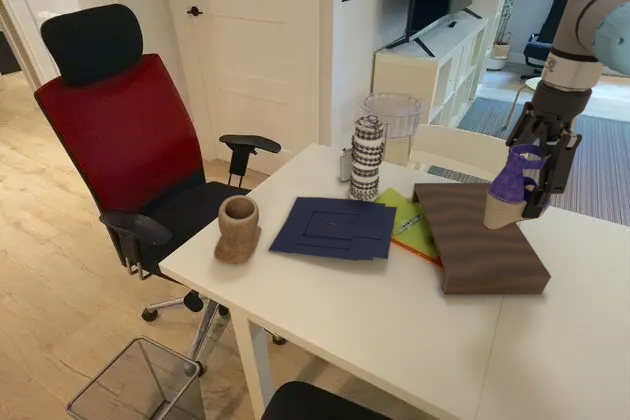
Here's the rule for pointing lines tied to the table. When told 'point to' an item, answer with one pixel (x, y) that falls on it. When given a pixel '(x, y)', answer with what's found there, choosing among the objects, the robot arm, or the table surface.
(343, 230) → the papers
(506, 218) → the sandal
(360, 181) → the decorative candle
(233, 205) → the stone cup
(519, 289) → the walnut wood board
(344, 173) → the ink box
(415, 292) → the table surface
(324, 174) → the table surface
